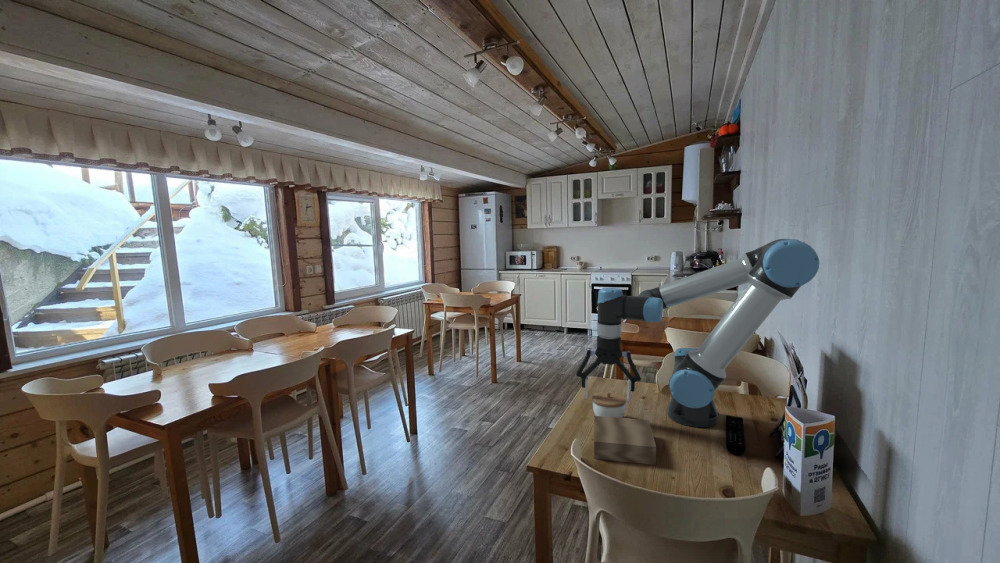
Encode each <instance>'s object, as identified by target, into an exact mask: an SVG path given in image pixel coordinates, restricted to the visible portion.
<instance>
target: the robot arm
mask: <svg viewBox="0 0 1000 563" xmlns="http://www.w3.org/2000/svg"><path fill="white" fill-rule="evenodd" d="M819 269H820V259H819V255H818V253H817V252H816V250H815V249H814V248H813V247H812V246H811V245H809V244H808V243H806V242H805V241H802V240H800V239H795V238H780V239H779V238H778V239H775V240H772V241H770V242H768V243H766V244H764V245H763V246H760V247H758V248H755V249H753V250H750V251H748V252H746V253H744V254H743V255H742V256H741V258H738V259H736V260H731V261H729V262H726V263H724V264H721V265H717V266H715V267H711V268H709V269H706V270H703V271H699V272H697V273H694V274H692V275H689V276H686V277H683V278H680V279H677V280H673V281H671V282H668V283H665V284H663V285H660V286H657V287H654V288H651V289H645V290H643V291H641V292H640V293H639V294H638V295H624V293H623V290H622V289H621V288H619V287H602V288H601V289H599V290H598V296H597V297H598V298H597V322H596V324H597V325H596V327H597V328H596V329H597V330H596V334H597V336H596V349H592V348H587V349H586V354H585V356H584V359H583V360H582V361H581V364H580V365H579V367H578V369H577V371H576V377H577V378H581V387H582V389H584V399H586V400H587V399H588V396H589V395H588V393H589V388H588V386H589V382H588V381H589V377H588V376H589V375H590V374H592V372H593V371H594V370H595V369H596V368H597V367H598V366H600V364H601V363H602V364H603V365H611V366H614V365H615V364H616V365H617V367H618V368H619V369H620V370H621V371H622V372H623V373H624V375H625V376H626V377H627V378H628V380H627V399H626V400H627V402H628V403H631V398H632V397H631V396H632V392H633V393H634V392H635V388H636V387H635V386H636V382H640V381H642V378H641V375H640V374H639V371H638V369H637V367H636V365H635V363H634V361H633V359H632V354H631V351H630V350H628V349H627V350H626V351H622V349H621V348H622V337H621V336H622V324H623V323H622V322H623V321H622V320H629V321H639V322H646V323H647V322H648V323H660V322H661V321H662V319H663V313H664V310H665V309H668V308H671V307H674V306H677V305H681V304H685V303H686V302H687V303H688V302H691V301H693V300H697V299H700V298H704V297H707V296H709V295H712V294H715V293H719V292H722V291H723V292H724V291H726V290H728V289H729V290H730V289H732V288H735V287H738V286H742V285H744V284H746V286H745V287H744V288H743V290H742V291H741V293H740V294H739V295H738V297H737V298H736V299H735V300H734V302H733V303H732V304H731V305H730V307H729V308H728V309H727V311H726V312H725V314H724V315H723V316H722V317H721V319H720V320H719V321H718V323H717V324H716V325H715V326H714V327H713V329H712V330H711V331H710V333H709V334H708V336H707V337H706V338H705V340H703V341H702V343H701V344H700V346H699V348H694V347H678V348H676V349H675V350H674V354H673V357H674V366H673V369H672V373H671V376H670V378H669V380H668V384H669V385H668V386H669V392H670V393H671V398H670V400H669V404H668V405H667V416H668V417H669V418H670V419H671V420H672V421H673V422H676V423H678V424H681V425H684V426H688V427H693V428H709V427H710V428H711V427H714V426H716V425H717V424H718V422H719V413H718V412H719V411H718V409H717V407H716V403H715V400H714V397H715V393H716V392H715V391H717V389H718V388H719V386H720V385H721V384H722V383H723V382H724V380H725V379H726V378H727V373H726V368H727V367H728V366H729V364H730V363H731V362H733V359H735V357H736V356H737V354H739V352H740V351H741V350H742V348H744V346H745V345H746V343H748V341H749V340H750V339H751V337H752V336H754V334H755V333H756V331H758V329H759V327H761V325H762V324H763V323H764V322H765V321H766V319H768V317H769V316H770V314H771V313H772V312H773V310H774V309H775V308H776V307H777V306H778V305H779V304H780V302H781V301H783V300H790V299H792V298H793V297H794V295H795V294H796V293H797V292H798V291H799V289H800V288H801V287H802V286H804V285H807V284H808V283H809V282H811V280H813V279H814V278H815V277H816V275H817V274H818V271H819ZM594 355H595V356H596V359H595V360H594V361H593V362H592V363H591V364H590V365H589V366H588V367H587V368H586V369H585V367H586V365H587V364H588V362H589V360H591V357H593V356H594ZM622 357H624V358H625V359H627V362H628V364H629V366H630V368H631V370H632V373H633V374H634V375H633V374H632V373H631V372H630V371H629V369H628V368H627V367H626V366H625V365H624V363H623V362H622V361H621V360H620V359H621V358H622ZM584 369H585V371H584Z"/></svg>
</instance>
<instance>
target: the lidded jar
mask: <svg viewBox="0 0 1000 563" xmlns="http://www.w3.org/2000/svg"><path fill="white" fill-rule="evenodd" d="M591 400H592V403H591V404H592V410H593V413H594V416H604V417H617V418H624V415H625V412H626V402H627V399H626V397H625V396H624V395H622V394H621V393H618V392H614V391H599V392H595V393H594V394H593V395H592V396H591Z"/></svg>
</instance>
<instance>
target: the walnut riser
mask: <svg viewBox="0 0 1000 563" xmlns="http://www.w3.org/2000/svg"><path fill="white" fill-rule="evenodd" d="M593 420H594V425H593V426H594V430H593V431H594V433H593V434H594V435H593V459H595V460H605V461H616V462H625V463H633V464H634V463H635V464H643V465H645V464H646V465H655V466H656V465H657V445H656V442H655V437H654V434H653V431H652V427H651V422H650V420H649V419H643V418H629V417H628V418H627V417H626V418H625V417H622V418H617V417H604V416H596V415H594V419H593Z"/></svg>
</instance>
